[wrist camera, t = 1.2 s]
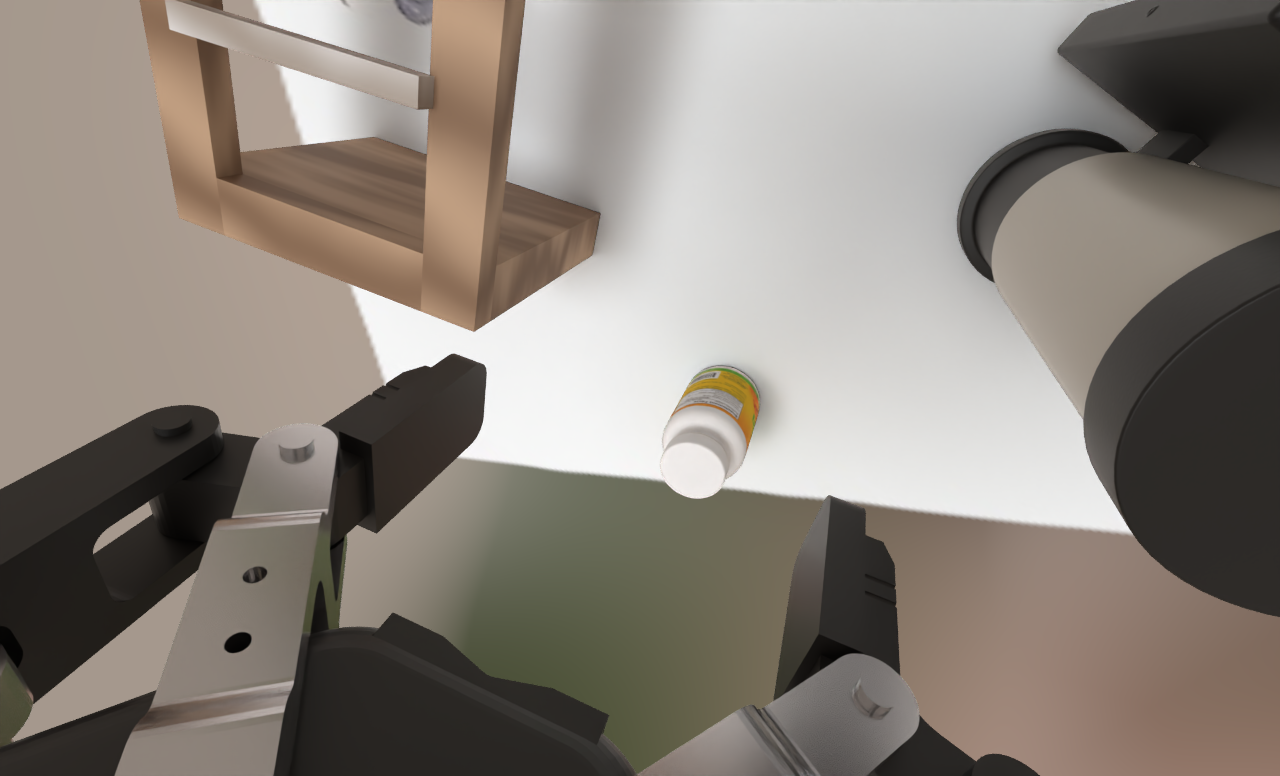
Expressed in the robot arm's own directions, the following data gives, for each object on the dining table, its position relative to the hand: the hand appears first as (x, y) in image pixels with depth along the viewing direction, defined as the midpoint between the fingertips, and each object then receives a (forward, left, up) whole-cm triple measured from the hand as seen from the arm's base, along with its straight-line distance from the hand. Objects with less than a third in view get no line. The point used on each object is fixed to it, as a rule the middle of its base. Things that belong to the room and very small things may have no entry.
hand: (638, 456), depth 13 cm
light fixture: (-6, +14, -28) cm, 31 cm away
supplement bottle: (+13, +1, -28) cm, 31 cm away
